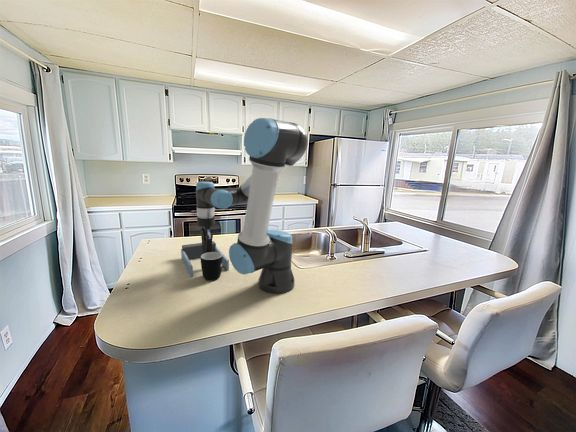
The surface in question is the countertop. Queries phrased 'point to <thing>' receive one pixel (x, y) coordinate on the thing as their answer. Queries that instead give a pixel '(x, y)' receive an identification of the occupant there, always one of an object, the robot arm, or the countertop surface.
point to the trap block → (195, 250)
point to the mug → (211, 265)
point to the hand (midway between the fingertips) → (207, 265)
